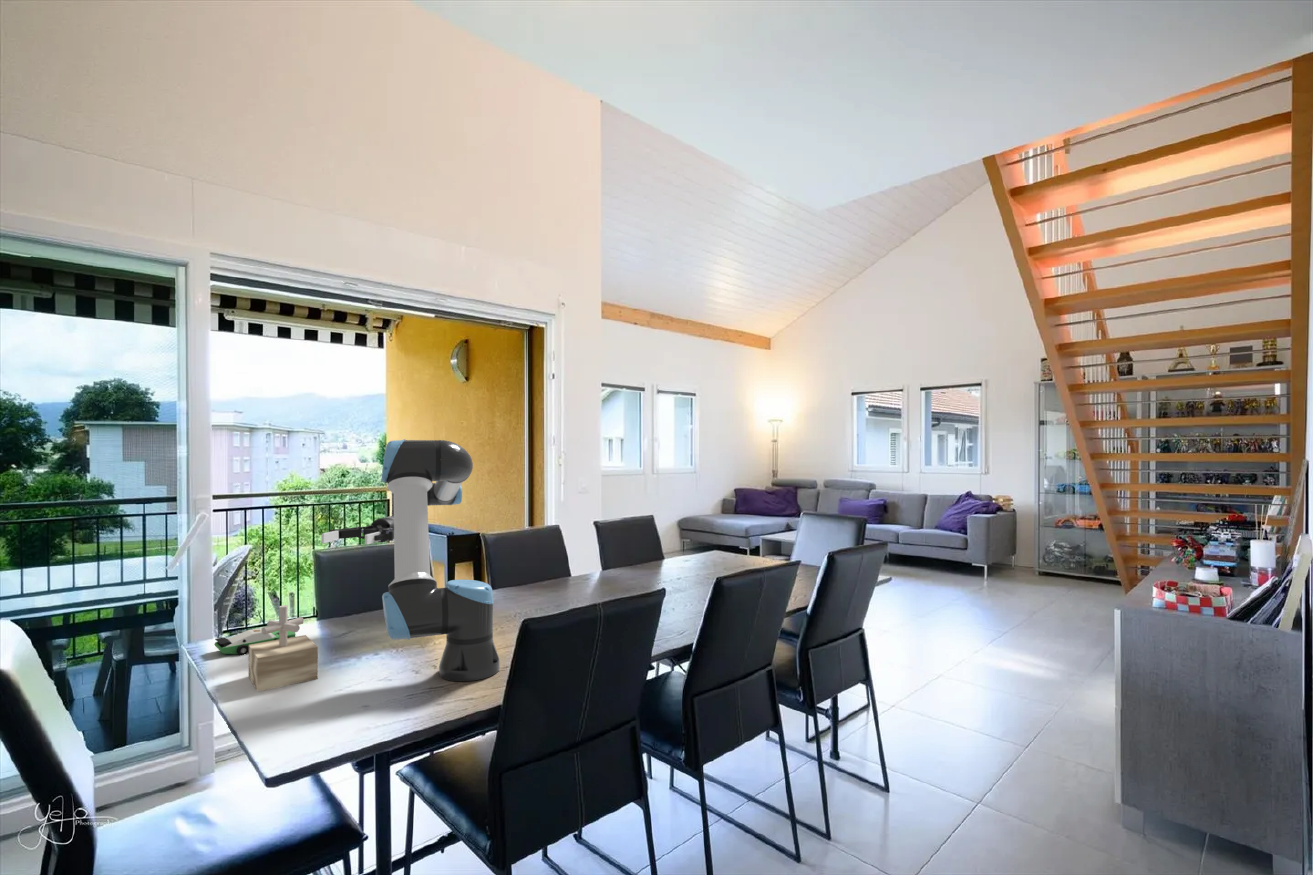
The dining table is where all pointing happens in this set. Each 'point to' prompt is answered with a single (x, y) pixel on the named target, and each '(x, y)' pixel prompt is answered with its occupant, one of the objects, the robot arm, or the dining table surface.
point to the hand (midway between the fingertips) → (344, 539)
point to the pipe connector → (283, 626)
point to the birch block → (282, 663)
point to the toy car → (246, 641)
